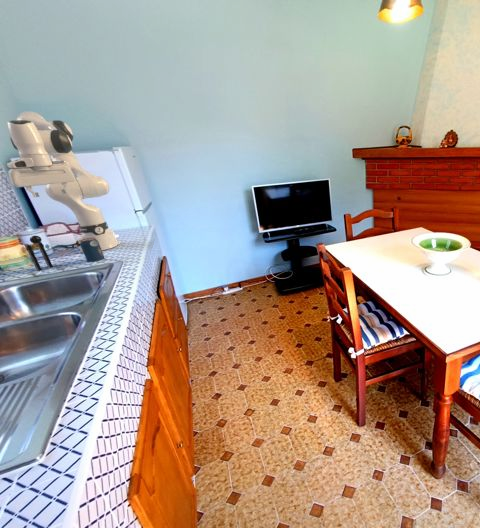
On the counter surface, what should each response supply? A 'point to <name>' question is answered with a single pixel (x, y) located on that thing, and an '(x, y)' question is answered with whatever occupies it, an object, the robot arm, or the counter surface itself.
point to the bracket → (35, 257)
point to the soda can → (91, 249)
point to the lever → (35, 242)
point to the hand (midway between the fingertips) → (51, 195)
